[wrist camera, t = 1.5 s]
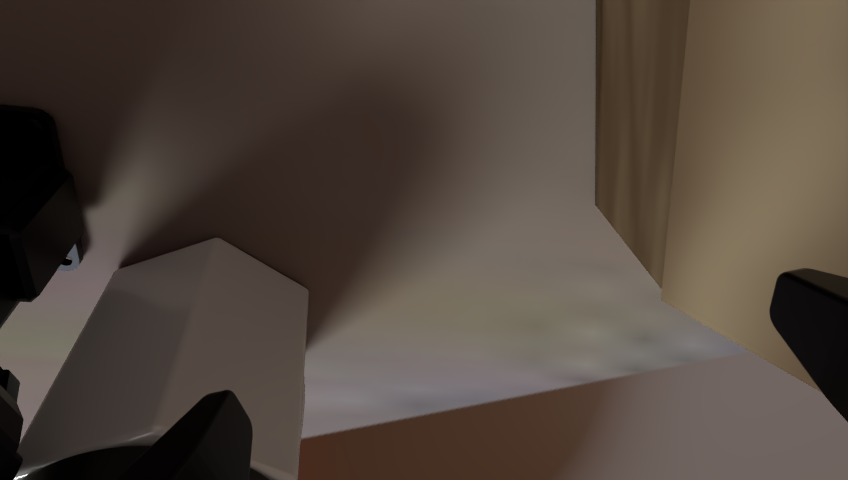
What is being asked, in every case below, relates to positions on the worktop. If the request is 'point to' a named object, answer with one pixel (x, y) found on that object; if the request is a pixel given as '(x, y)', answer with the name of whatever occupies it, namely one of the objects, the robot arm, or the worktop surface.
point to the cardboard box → (638, 119)
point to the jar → (176, 365)
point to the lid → (758, 163)
